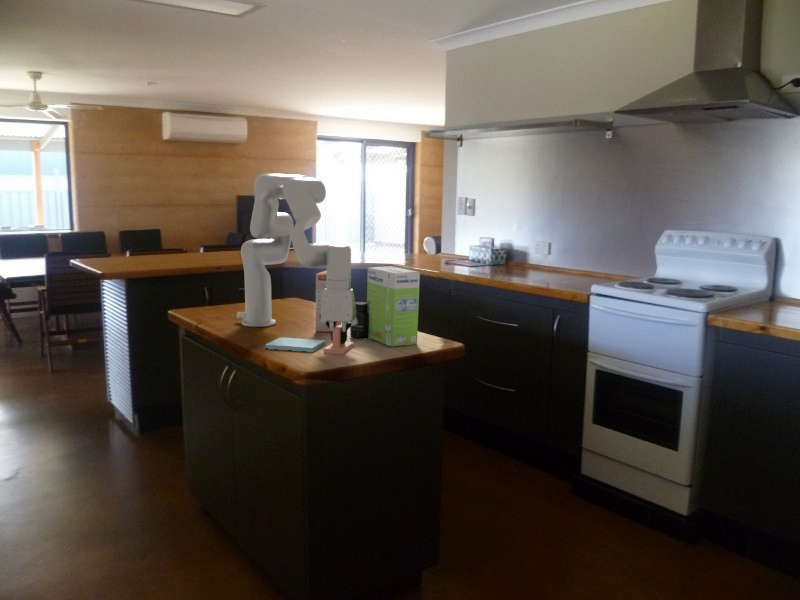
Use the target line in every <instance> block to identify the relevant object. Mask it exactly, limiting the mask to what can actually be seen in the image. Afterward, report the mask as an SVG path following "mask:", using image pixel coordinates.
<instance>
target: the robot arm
mask: <svg viewBox="0 0 800 600" xmlns="http://www.w3.org/2000/svg"><path fill="white" fill-rule="evenodd" d="M253 185H254V186H253V188H254V189H253V190H254V191H253V192H254V204H253V208H252V212H251V213H252V214H251V220H250V225H249V231H250V234H251V236H252V237H254V238H255V239H249V240H246V241H244V242H243V243H242V245H241V248H240V255H241V260H242V265H243V275H244V300H245V301H244V306H245V307H244V309H245V311H237V312H236V318H237V319H242V321H241V325H242V326H243V327H251V328H260V327H261V328H262V327H270V326H274V325H275V324H277V321H276V319H274V318H272V315H273V313H272V279H271V274H270V272H269V271H268V270H267V269H268V268H266V265H269V266H270V265H278V264H279V265H280V264H283V263H284V262H286V261H287V259H288V257H289V253H290V249H291V243H292V248H293V251H294V252H295V255H296V257H297V260H298V261H299V262H300V263H301V265H302V266H304V267H305V268H319V267H326V270H327V279H326V280H323V282H322V284H323V285H326V287H327V288H326V289H324V292H323V298H322V308H321V319H320V322H322V323H323V324H326V325H327V326H328V328H329V329H330V331H331V332H330V340H331V341H332V342H331V344H332V343H333V328H334V327H336V322H341V325H342V331H341V332H340V343H341V344H344V343H345V342H348V331H349V329H350V327H351V326H353V325H356V324H358V320H357V318H356V306H355V302H356V298H355V293H354V289H353V288H352V249H351V247H350V246H349V245H347V244H339V243H337V242H329V241H328V242H309V241H308V239H307V237H306V236H307V235H306V234H305V231H307V230H308V229H310V228H312V227H314V226H315V225H316V224H317V223H319V221H320V220H321V217H322V216H321V215H322V214H321V211H320V209H319V207H318V205H317V204H321V203H322V202H324V201H325V199H326V195H327V191H326V187H325V185H324V183H323V181H322V180H320V179H319V178H317V177H312V176H307V175H304V174H303V175H302V174H291V173H290V174H289V173H288V174H286V173H262V174H260V175H258V176H256V179H255V181H254V184H253ZM279 200H286V203H287V205H288V207H289V210H290V212H291V214H292V216H293V218H292V216H291V215H290V214H289V213H287V212H281V211H279V207H280V203H279ZM294 221H295V224H294ZM351 320H352V322H350V321H351Z"/></svg>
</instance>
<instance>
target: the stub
mask: <svg viewBox="0 0 800 600" xmlns="http://www.w3.org/2000/svg"><path fill="white" fill-rule="evenodd" d="M341 331H342V324H341V325H338V326H336V327H334V328H333V343H332V342H331V344H329V345H327V346H326V347H324V348H323V354H330V355H331V354H332V355H344V354H345V353H347V352H349V350H351V349H353V348H354V346H355V343H354V342H353V341H346V342H345V343H344V344H341V343H340V332H341Z"/></svg>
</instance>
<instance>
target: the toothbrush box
mask: <svg viewBox="0 0 800 600" xmlns="http://www.w3.org/2000/svg"><path fill="white" fill-rule="evenodd" d="M420 279H421V272H420V271H416V270H412V269H406V268H401V267H397V266H392V265H390V266H389V265H388V266H371V267H367V279H366V280H367V282H366V283H367V287H366V303H367V307H368V308H367V311H368V313H369V332H368V337H369V338H368V339H371V340H374V341H376V342H379V343H381V344H384V345H386V346H388V347H390V346H391V347H390V348H393V347H402V346H403V345H404V346H412V345H411V344H414V345H417V344H418V328H419V327H418V325H419V305H420V304H419V302H420ZM404 346H403V347H404Z"/></svg>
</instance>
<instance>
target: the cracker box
mask: <svg viewBox="0 0 800 600" xmlns="http://www.w3.org/2000/svg"><path fill="white" fill-rule="evenodd" d="M326 279H327V269H326V270H323V271H320V272H317V273H315V332H320V333H321V332H322V333H331V331H330V329H329V328H328V326H327V325H326V324H323V323H322V322H320V319H321V308H322V298H323V292H324V289H326V288H327V287H326V285H323V284H322V282H323V280H326ZM338 325H342V322H336V326H338Z"/></svg>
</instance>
